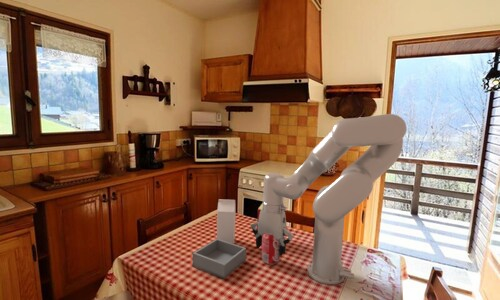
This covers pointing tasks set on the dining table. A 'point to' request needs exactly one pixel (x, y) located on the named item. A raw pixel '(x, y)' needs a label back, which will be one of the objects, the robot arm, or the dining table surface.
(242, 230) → the dining table surface
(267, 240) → the soda can
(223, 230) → the milk carton
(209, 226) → the dining table surface
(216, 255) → the bin
